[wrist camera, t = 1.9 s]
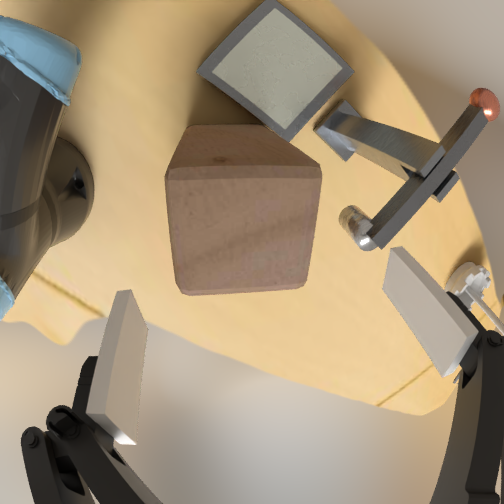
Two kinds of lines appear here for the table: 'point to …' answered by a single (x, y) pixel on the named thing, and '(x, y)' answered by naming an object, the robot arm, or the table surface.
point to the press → (309, 93)
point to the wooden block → (240, 210)
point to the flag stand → (472, 288)
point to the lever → (421, 178)
